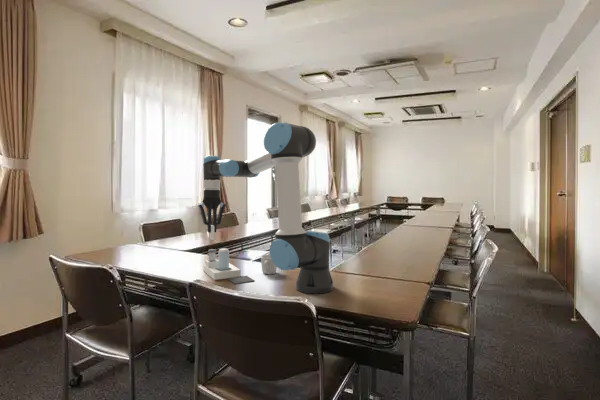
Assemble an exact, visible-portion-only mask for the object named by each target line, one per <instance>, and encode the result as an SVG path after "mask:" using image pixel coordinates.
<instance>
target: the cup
mask: <svg viewBox="0 0 600 400" xmlns="http://www.w3.org/2000/svg"><path fill="white" fill-rule="evenodd" d="M260 263H261V272H262V273H263V274H264V275H273V274H276V272H277V269H278V267H276V265H275V264H274V263H273V262H272V260H271V257H270V254H263V255H261V256H260Z"/></svg>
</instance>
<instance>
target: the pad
mask: <svg viewBox="0 0 600 400" xmlns="http://www.w3.org/2000/svg"><path fill="white" fill-rule="evenodd" d="M227 280H228V281H229V282H231V283H232V284H233V285H240V284H246V283H253V282H255V279H253V278H252V277H250V276H248V275H242V276H241V275H240V277H232V278H227Z"/></svg>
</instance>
